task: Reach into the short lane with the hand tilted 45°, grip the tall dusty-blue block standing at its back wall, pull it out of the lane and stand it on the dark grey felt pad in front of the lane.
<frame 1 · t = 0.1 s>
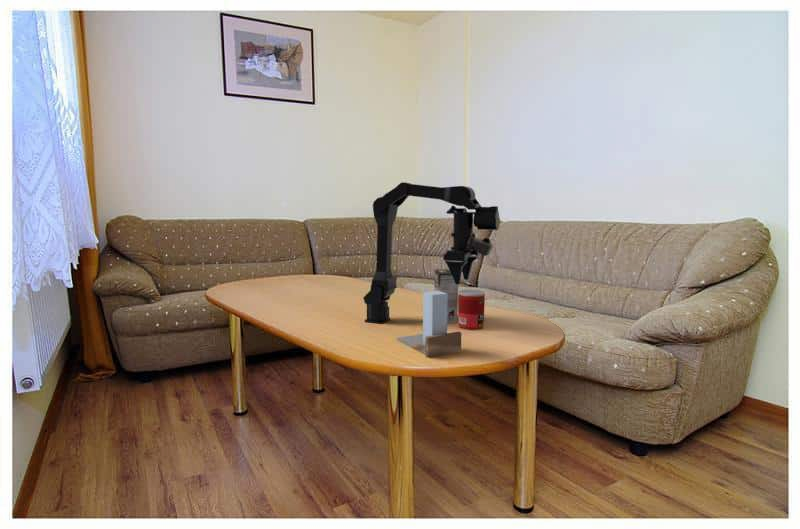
hand: (462, 281, 140), 15 cm above the table, tool pointing down, fingers open, 9 cm apart
block: (434, 349, 122), resting in lane
canned food: (470, 327, 145), on the table
pad: (418, 341, 130), on the table
coffee box: (445, 320, 154), on the table
lane: (434, 349, 122), on the table
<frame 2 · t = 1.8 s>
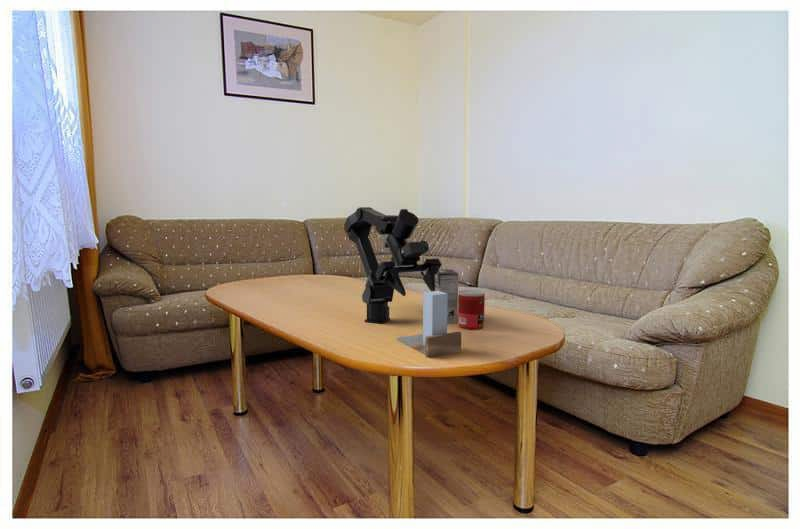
hand: (419, 293, 127), 13 cm above the table, tool tilted 45°, fingers open, 9 cm apart
nothing on the table moved.
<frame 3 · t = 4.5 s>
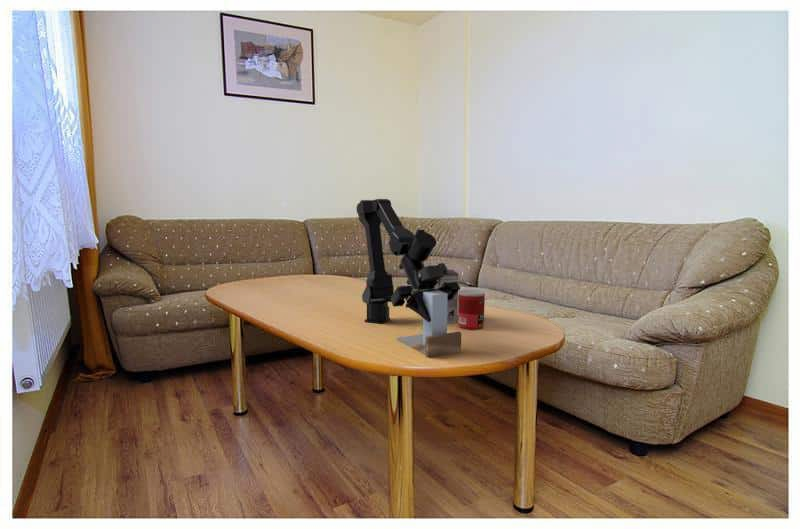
hand: (437, 320, 120), 8 cm above the table, tool tilted 45°, fingers closed on block, 4 cm apart
block: (434, 349, 122), resting in lane, touching gripper
everything else where it was.
when the fingers open (9 cm above the table, at t = 8.0 s): block stays where it is, resting on pad.
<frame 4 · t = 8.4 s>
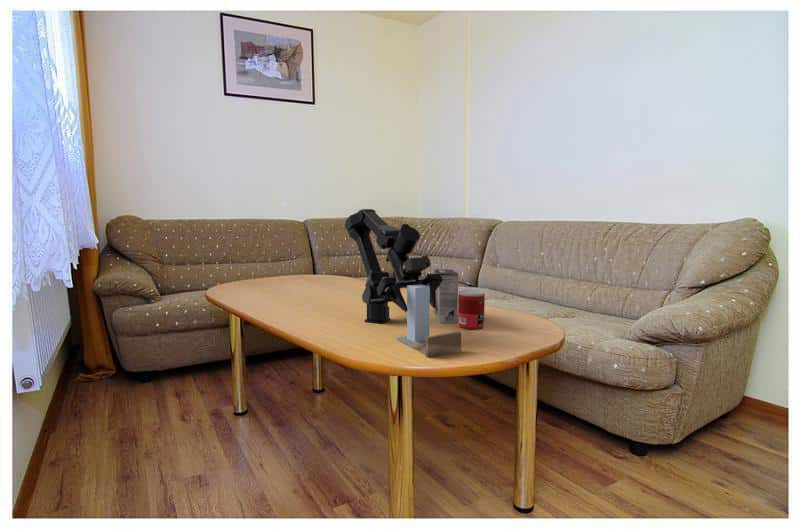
hand: (421, 309, 127), 9 cm above the table, tool tilted 45°, fingers open, 9 cm apart
block: (418, 339, 130), resting on pad
everything else where it was.
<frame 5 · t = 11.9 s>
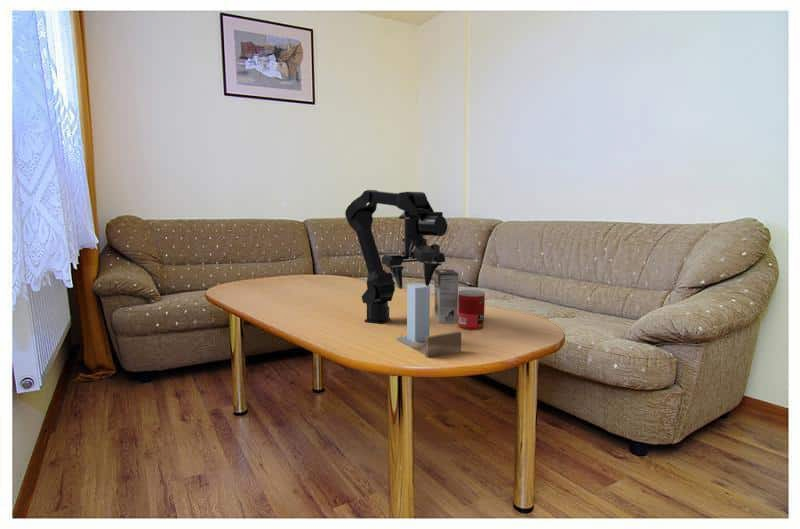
hand: (414, 287, 140), 13 cm above the table, tool pointing down, fingers open, 9 cm apart
nothing on the table moved.
at the end: block inside the target area on the pad (0.1 cm from its centre), point 0.4 cm above the pad's base; block tilted 0°; the gripper is holding nothing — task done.
